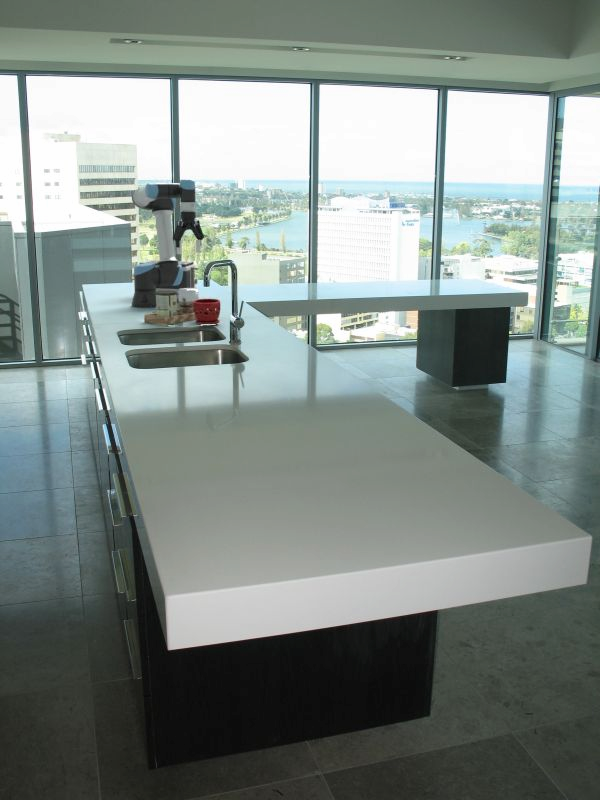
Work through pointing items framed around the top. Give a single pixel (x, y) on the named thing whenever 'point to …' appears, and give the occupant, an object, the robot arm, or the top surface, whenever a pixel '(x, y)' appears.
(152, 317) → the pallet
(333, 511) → the top surface
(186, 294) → the canister
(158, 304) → the coffee can
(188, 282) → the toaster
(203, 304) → the plant pot
